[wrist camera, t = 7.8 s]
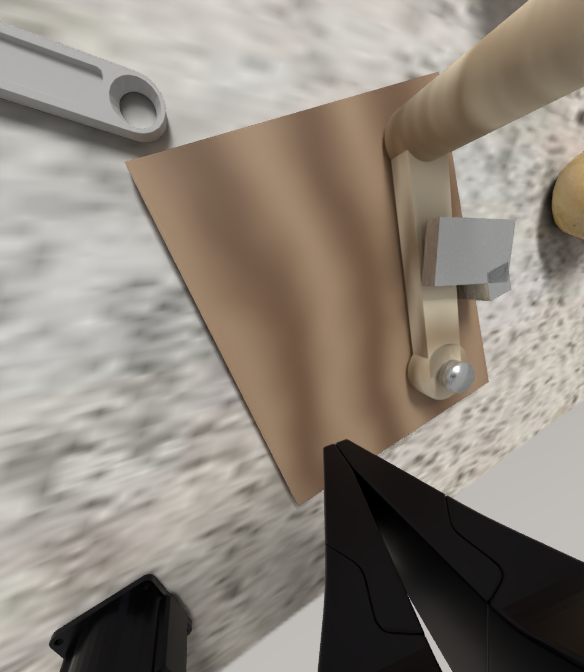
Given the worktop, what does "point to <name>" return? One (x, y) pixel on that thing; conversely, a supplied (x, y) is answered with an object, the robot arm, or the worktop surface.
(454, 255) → the keeper
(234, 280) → the walnut board
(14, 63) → the adjustable wrench
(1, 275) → the worktop surface
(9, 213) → the worktop surface
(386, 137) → the wooden crank lever
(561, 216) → the onion
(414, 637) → the robot arm
